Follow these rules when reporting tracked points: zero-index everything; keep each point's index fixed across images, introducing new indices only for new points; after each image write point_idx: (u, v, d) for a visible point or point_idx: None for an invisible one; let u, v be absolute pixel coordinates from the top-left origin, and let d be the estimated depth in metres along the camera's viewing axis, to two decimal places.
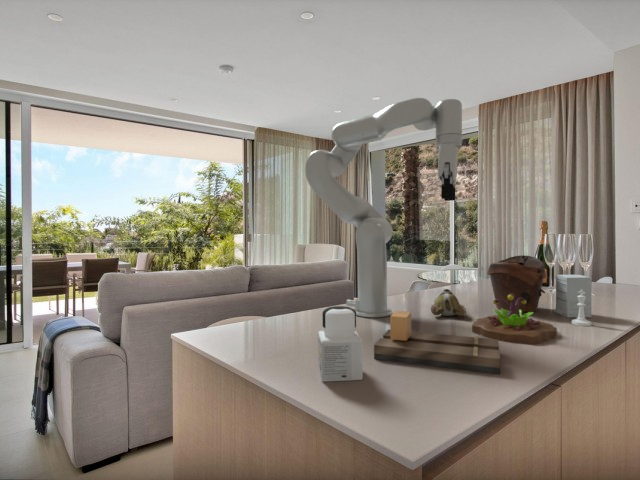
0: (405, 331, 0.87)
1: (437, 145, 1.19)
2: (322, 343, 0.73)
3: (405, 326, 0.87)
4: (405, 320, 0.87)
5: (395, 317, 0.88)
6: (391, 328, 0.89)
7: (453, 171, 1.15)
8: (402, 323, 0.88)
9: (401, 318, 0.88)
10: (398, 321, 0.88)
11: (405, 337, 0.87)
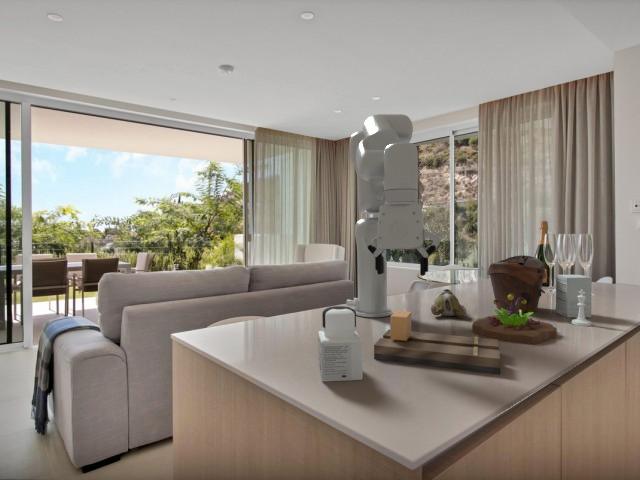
0: (405, 331, 0.87)
1: (408, 202, 0.86)
2: (322, 343, 0.73)
3: (405, 326, 0.87)
4: (405, 320, 0.87)
5: (395, 317, 0.88)
6: (391, 328, 0.89)
7: None
8: (402, 323, 0.88)
9: (401, 318, 0.88)
10: (398, 321, 0.88)
11: (405, 337, 0.87)
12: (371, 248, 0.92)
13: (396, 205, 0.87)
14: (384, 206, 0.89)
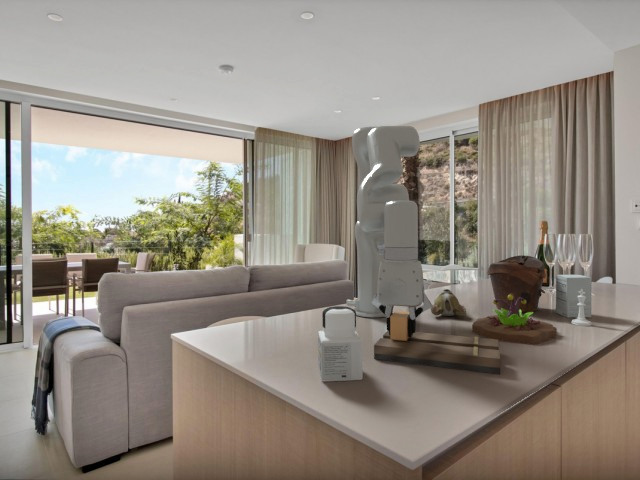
0: (405, 331, 0.87)
1: (408, 260, 0.87)
2: (322, 343, 0.73)
3: (405, 326, 0.87)
4: (405, 320, 0.87)
5: (395, 317, 0.88)
6: (391, 328, 0.89)
7: None
8: (402, 323, 0.88)
9: (401, 318, 0.88)
10: (398, 321, 0.88)
11: (405, 337, 0.87)
12: (382, 308, 0.91)
13: (396, 262, 0.88)
14: (384, 263, 0.89)
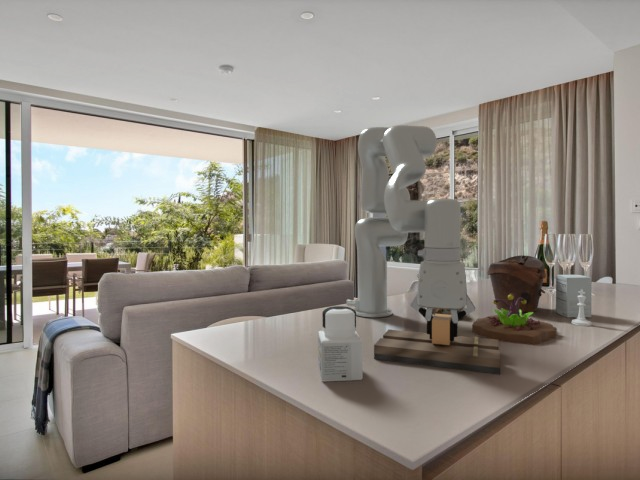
0: (448, 335, 0.84)
1: (451, 261, 0.83)
2: (322, 343, 0.73)
3: (448, 330, 0.84)
4: (448, 324, 0.84)
5: (437, 320, 0.85)
6: (433, 332, 0.85)
7: None
8: (445, 327, 0.84)
9: (444, 321, 0.84)
10: (440, 325, 0.84)
11: (448, 341, 0.84)
12: (422, 311, 0.88)
13: (438, 264, 0.84)
14: (425, 264, 0.86)
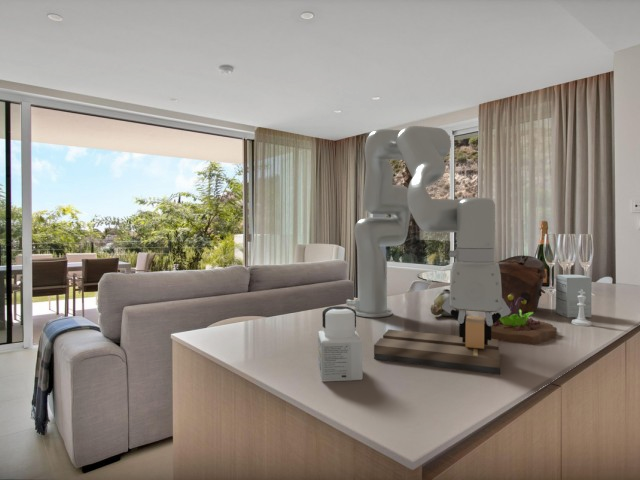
0: (482, 338, 0.81)
1: (486, 262, 0.80)
2: (322, 343, 0.73)
3: (483, 333, 0.81)
4: (482, 326, 0.81)
5: (471, 323, 0.82)
6: (466, 335, 0.82)
7: None
8: (479, 330, 0.81)
9: (478, 324, 0.81)
10: (474, 327, 0.82)
11: (483, 345, 0.81)
12: (455, 313, 0.85)
13: (472, 265, 0.82)
14: (458, 265, 0.83)
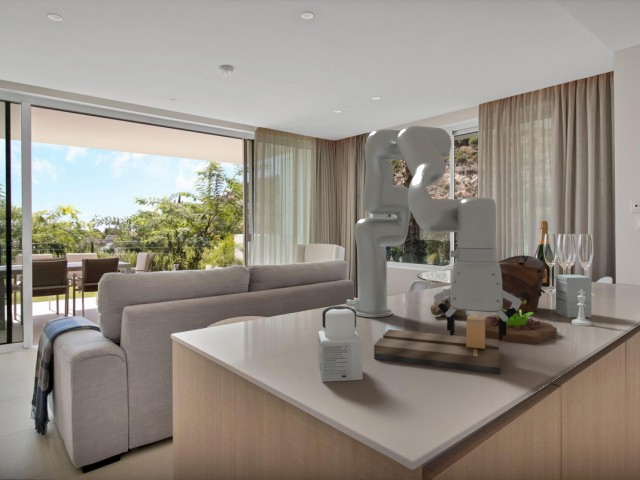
0: (483, 338, 0.81)
1: (487, 262, 0.80)
2: (322, 343, 0.73)
3: (484, 333, 0.81)
4: (483, 326, 0.81)
5: (472, 323, 0.82)
6: (467, 335, 0.82)
7: None
8: (480, 330, 0.81)
9: (479, 324, 0.81)
10: (475, 327, 0.82)
11: (483, 345, 0.81)
12: (442, 307, 0.86)
13: (473, 265, 0.82)
14: (459, 265, 0.83)
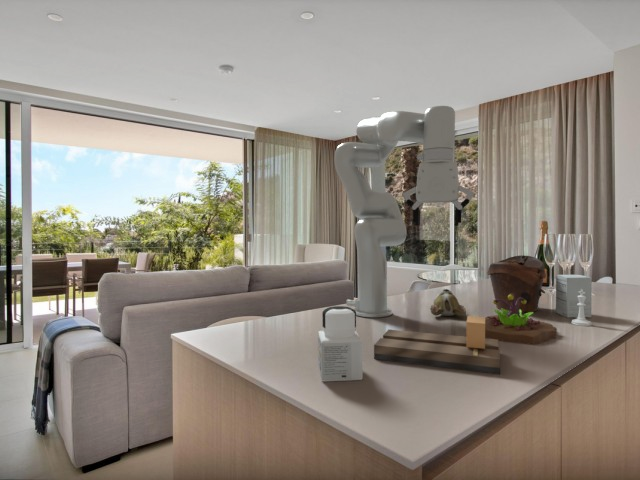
0: (483, 338, 0.81)
1: (445, 159, 0.96)
2: (322, 343, 0.73)
3: (484, 333, 0.81)
4: (483, 326, 0.81)
5: (472, 323, 0.82)
6: (467, 335, 0.82)
7: None
8: (480, 330, 0.81)
9: (479, 324, 0.81)
10: (475, 327, 0.82)
11: (483, 345, 0.81)
12: (410, 202, 1.02)
13: (434, 162, 0.98)
14: (423, 164, 0.99)
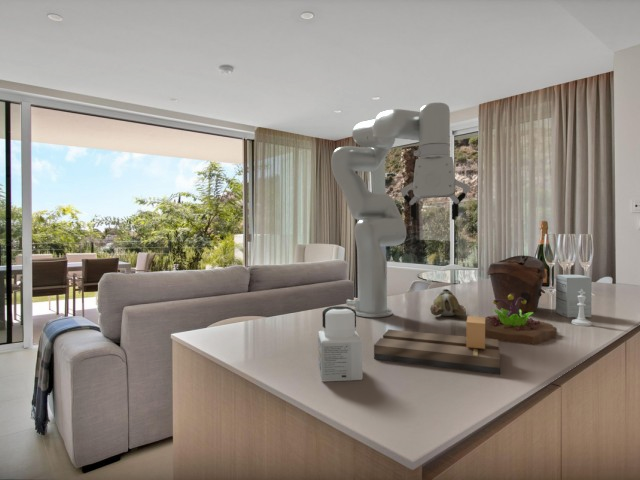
0: (483, 338, 0.81)
1: (441, 154, 0.98)
2: (322, 343, 0.73)
3: (484, 333, 0.81)
4: (483, 326, 0.81)
5: (472, 323, 0.82)
6: (467, 335, 0.82)
7: None
8: (480, 330, 0.81)
9: (479, 324, 0.81)
10: (475, 327, 0.82)
11: (483, 345, 0.81)
12: (407, 197, 1.04)
13: (431, 158, 1.00)
14: (420, 159, 1.01)
